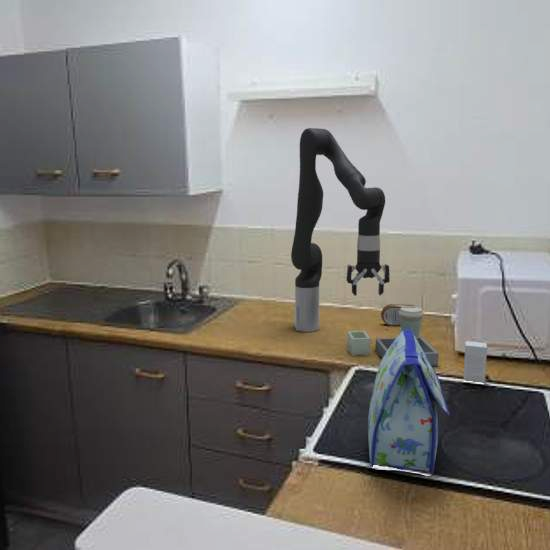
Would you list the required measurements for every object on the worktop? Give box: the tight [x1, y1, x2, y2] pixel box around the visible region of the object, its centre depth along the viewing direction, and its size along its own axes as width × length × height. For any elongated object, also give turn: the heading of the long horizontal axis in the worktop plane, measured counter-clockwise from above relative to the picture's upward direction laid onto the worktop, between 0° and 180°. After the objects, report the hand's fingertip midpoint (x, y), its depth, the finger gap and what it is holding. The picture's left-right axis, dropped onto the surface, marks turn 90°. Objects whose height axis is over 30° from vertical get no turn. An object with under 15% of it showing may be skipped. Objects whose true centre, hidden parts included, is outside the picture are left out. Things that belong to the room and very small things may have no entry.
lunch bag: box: [367, 329, 451, 475], centre depth 125 cm, size 22×17×26 cm
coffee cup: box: [399, 305, 424, 337], centre depth 199 cm, size 8×8×12 cm
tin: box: [380, 303, 415, 327], centre depth 217 cm, size 15×3×8 cm, turn 84°
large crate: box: [375, 336, 439, 368], centre depth 183 cm, size 16×16×4 cm
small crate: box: [346, 330, 371, 356], centre depth 190 cm, size 6×8×6 cm
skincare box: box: [463, 340, 488, 384], centre depth 163 cm, size 6×4×12 cm
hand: (367, 294), depth 189 cm, fingers open, 8 cm apart
